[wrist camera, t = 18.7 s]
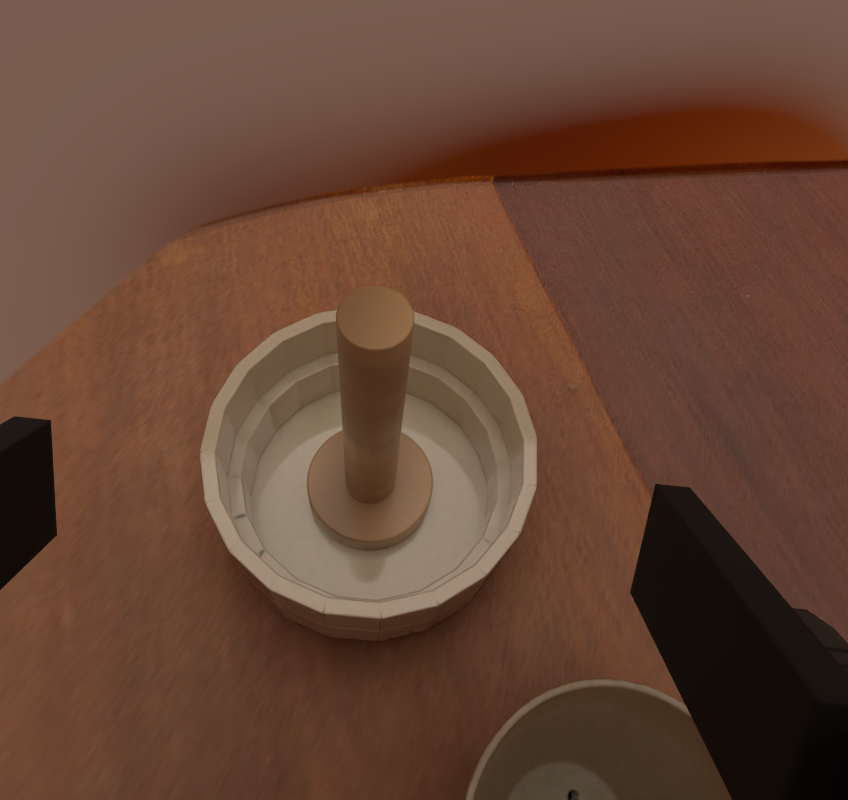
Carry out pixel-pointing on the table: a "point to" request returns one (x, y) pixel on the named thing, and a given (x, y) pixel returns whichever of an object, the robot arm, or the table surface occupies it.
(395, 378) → the masher
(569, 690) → the flower pot
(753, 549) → the table surface
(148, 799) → the table surface
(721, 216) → the table surface
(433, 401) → the bowl
